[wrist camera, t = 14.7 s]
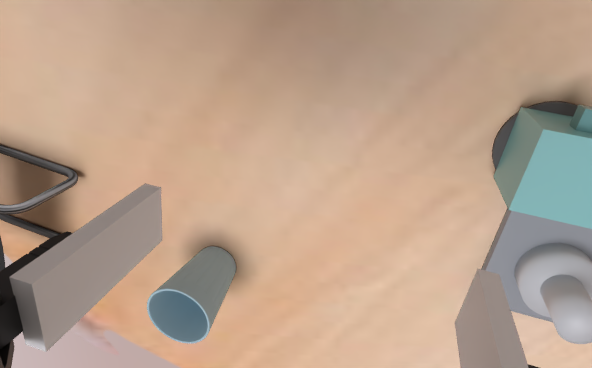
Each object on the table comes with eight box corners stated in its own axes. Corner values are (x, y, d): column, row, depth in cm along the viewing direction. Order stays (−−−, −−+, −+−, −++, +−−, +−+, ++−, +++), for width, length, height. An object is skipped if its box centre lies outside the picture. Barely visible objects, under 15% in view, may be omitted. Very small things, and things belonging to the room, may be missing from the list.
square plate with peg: (510, 202, 40) (534, 252, 32) (642, 232, 38) (702, 293, 30) (470, 293, 45) (483, 355, 38) (585, 324, 43) (623, 396, 36)
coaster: (512, 92, 36) (514, 94, 36) (622, 112, 34) (625, 114, 34) (479, 181, 40) (479, 183, 40) (575, 202, 38) (578, 205, 38)
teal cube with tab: (570, 193, 38) (601, 231, 32) (493, 176, 39) (508, 209, 33) (616, 103, 34) (661, 127, 28) (528, 88, 35) (553, 107, 29)
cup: (229, 233, 51) (189, 284, 42) (253, 281, 53) (220, 340, 44) (182, 244, 54) (135, 294, 45) (207, 289, 56) (167, 346, 47)
